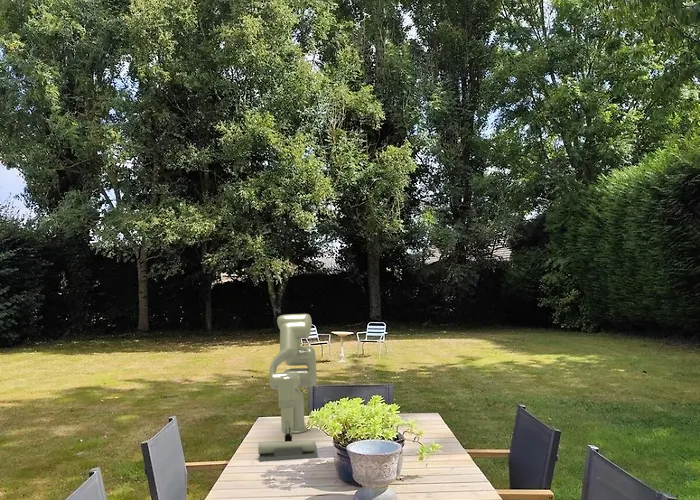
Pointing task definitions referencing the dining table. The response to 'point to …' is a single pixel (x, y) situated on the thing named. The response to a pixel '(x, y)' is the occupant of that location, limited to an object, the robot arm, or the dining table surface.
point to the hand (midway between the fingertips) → (288, 444)
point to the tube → (286, 446)
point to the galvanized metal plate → (288, 454)
